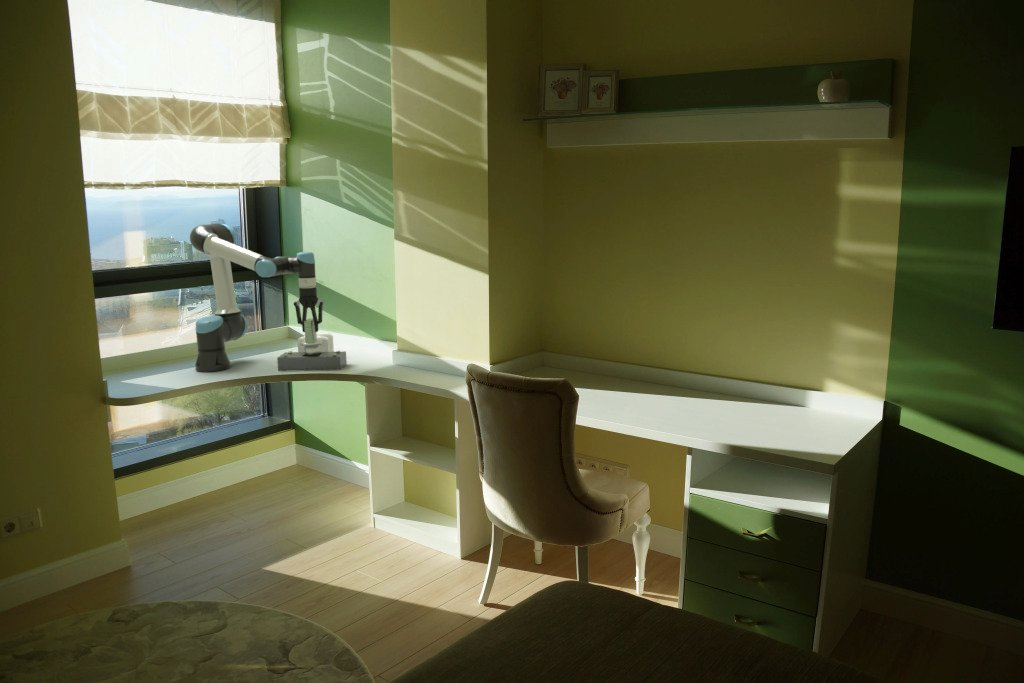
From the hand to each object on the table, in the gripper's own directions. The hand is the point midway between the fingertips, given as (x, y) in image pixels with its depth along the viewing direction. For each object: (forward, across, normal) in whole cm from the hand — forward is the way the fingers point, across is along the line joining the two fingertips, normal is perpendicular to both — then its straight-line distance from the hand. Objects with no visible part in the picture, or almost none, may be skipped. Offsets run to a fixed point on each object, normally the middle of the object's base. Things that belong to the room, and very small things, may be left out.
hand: (311, 339), depth 373 cm
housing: (+13, 0, 0) cm, 13 cm away
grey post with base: (+9, 0, 0) cm, 9 cm away
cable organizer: (+13, -3, +19) cm, 23 cm away
